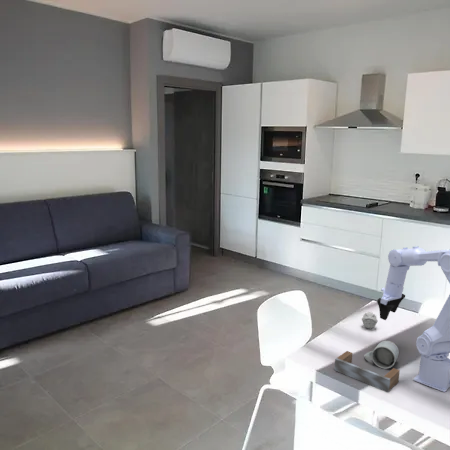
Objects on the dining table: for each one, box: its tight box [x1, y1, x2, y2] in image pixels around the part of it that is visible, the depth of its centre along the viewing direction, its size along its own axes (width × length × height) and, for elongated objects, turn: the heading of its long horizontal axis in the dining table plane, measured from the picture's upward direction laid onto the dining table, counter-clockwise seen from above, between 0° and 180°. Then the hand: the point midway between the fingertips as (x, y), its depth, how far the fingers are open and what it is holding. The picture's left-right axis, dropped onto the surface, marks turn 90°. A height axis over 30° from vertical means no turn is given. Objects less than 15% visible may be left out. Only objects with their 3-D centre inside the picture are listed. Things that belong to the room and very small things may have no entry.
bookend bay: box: [334, 350, 400, 393], centre depth 141 cm, size 18×8×4 cm, turn 47°
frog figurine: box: [361, 311, 378, 329], centre depth 177 cm, size 6×7×7 cm
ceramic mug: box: [363, 340, 400, 370], centre depth 150 cm, size 11×8×8 cm
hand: (387, 315), depth 158 cm, fingers open, 7 cm apart
